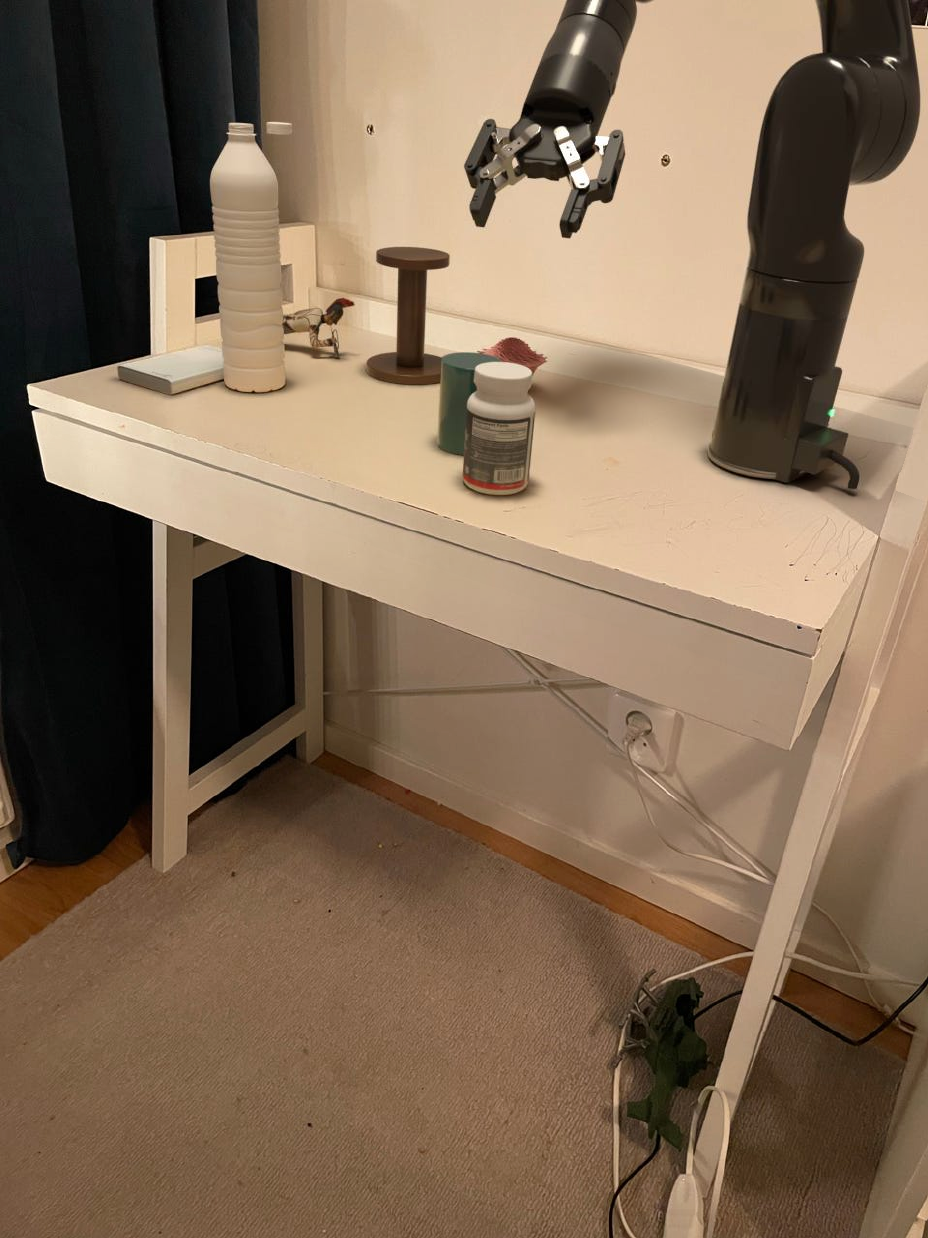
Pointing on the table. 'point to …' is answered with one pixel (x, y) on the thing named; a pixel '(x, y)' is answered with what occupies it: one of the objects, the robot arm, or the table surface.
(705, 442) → the table surface
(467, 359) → the cylinder
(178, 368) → the hard drive
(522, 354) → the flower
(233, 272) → the water bottle
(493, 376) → the pill bottle
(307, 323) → the figurine
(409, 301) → the pedestal stand
